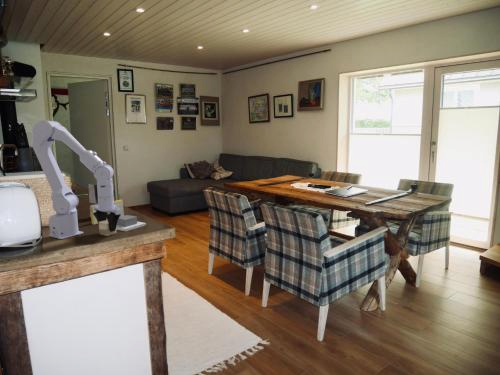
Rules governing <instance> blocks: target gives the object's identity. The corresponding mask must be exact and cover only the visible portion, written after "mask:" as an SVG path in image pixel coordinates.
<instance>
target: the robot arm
mask: <svg viewBox="0 0 500 375" xmlns="http://www.w3.org/2000/svg"><path fill="white" fill-rule="evenodd" d="M31 131H32V134H33V136H32V149H33V151H34V154H35V155H36V158H37V160H38V162H39V165H40V166H41V169H42V171H43V173H44V176H45V178H46V180H47V183H48V185H49V187H50V189H51V196H50V197H51V201H52V209H53V210H54V212H55V214H52V215H51V216H49V219H48V224H49V225H48V226H49V237H52V238H55V239H58V240H64V239H67V238H70V237H75V236H78V235H82V234H84V231H82V230H81V231H80V230H79V221H78V209H77V206H78V205H79V201H80V200H79V198H78V196H77V195H76V194H74V192H73V191H72V188H70V187H69V186H68V185H67V183H66V180H65V178H64V176H63V174H62V171H61V169H60V167H59V165H58V162H57V160H56V158H55V156H54V154H53V150H52V148H51V147H52V145H53V144H54V142H55V141H60V142H62V143H63V144H65V145H66V146H67V147H69V148H70V149H71V150H72V151H73V152H74V153H75V154H77V155H78V156H79V161H80V163H81V164H82V165H84V166H85V167H86V168H87V169H88V170H89V171H90V172H91V173H93V177H94V178H95V180H96V183H97V191H98V205H94V206H93V210H94V211H95V210H96V212H94V213H93V215H94V216H95V218H96V219H97V221H98V224H97V225H99V222H101V221H105V220H106V218H107V220H108V224H109V230H110V232H113V231H115V230H116V225H117V222H118V219H119V217H120V215H121V209H119V208H117V207H116V206H115V205H114V201H115V199H114V197H115V196H114V182H113V176H114V174H115V172H114V168H113V167H112V166H111V165H110V164H108V163H107V162H106V161H103V160H102V159H101V157H99V156H98V153H97V152H96V151H93V150H92V149H91V150H90V149H89V150H87V149H86V148H85V147H84V146H83V145H82V144H81V142H79V140H77V139H76V138H75V137H74V135H72V133H70V131H68V129H67V128H66V127H64V125H62V124H61V123H60V122H58V121H56V120H45V119H41V120H39V121H37V122H35V124H34V125H33V127H32V129H31ZM108 213H110V214H108Z"/></svg>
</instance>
